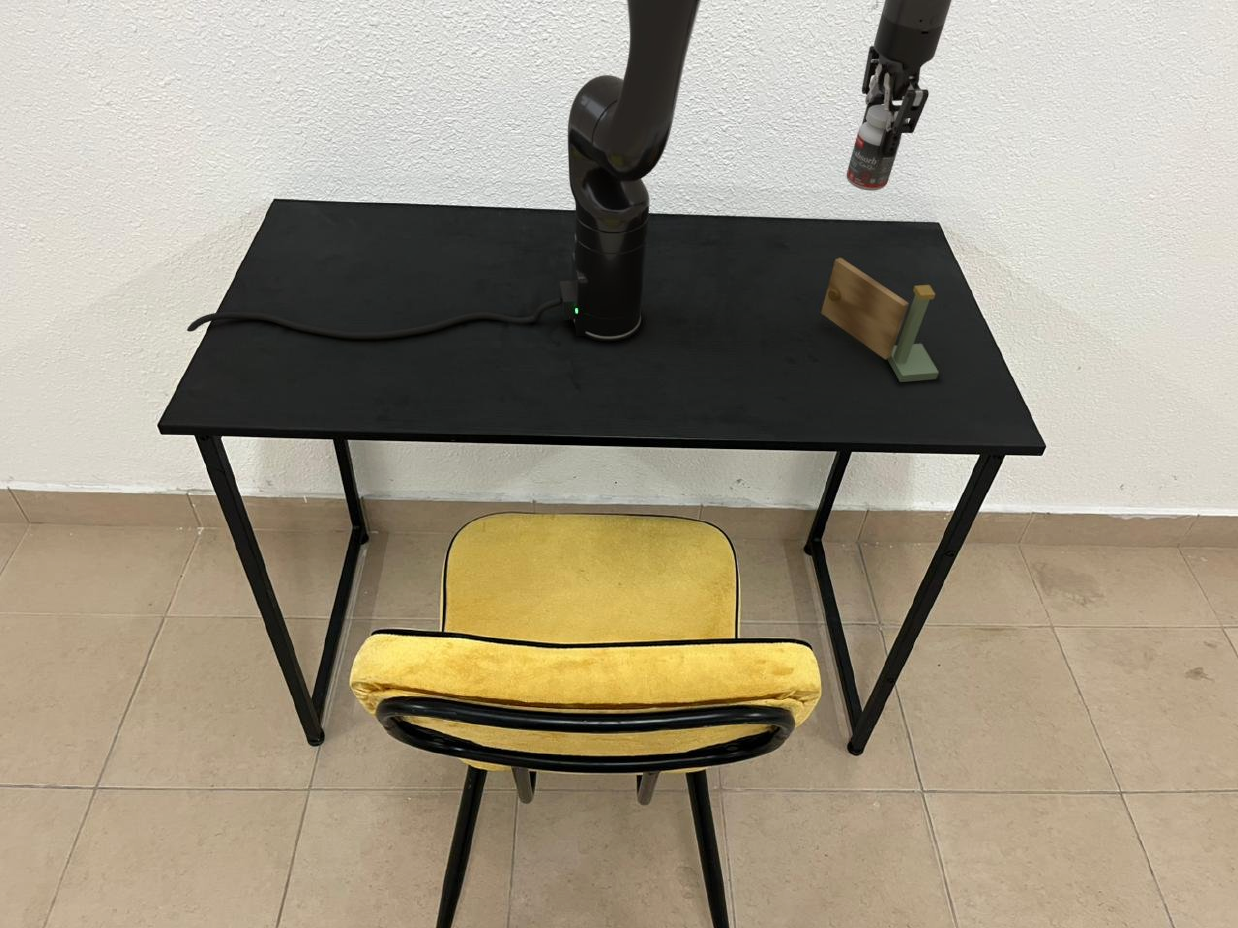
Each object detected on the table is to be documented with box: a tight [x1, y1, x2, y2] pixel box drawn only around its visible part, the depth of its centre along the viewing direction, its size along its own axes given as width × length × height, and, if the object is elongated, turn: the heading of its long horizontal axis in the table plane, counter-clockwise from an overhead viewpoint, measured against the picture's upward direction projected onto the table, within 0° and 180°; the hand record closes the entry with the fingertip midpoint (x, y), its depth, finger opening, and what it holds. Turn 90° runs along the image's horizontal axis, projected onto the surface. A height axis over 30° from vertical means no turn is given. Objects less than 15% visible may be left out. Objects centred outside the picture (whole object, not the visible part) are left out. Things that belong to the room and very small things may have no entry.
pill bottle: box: [846, 104, 902, 192], centre depth 123 cm, size 6×6×10 cm
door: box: [820, 257, 910, 361], centre depth 122 cm, size 12×2×9 cm, turn 38°
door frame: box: [887, 284, 940, 383], centre depth 119 cm, size 5×6×13 cm
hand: (877, 144), depth 122 cm, fingers closed on pill bottle, 5 cm apart
